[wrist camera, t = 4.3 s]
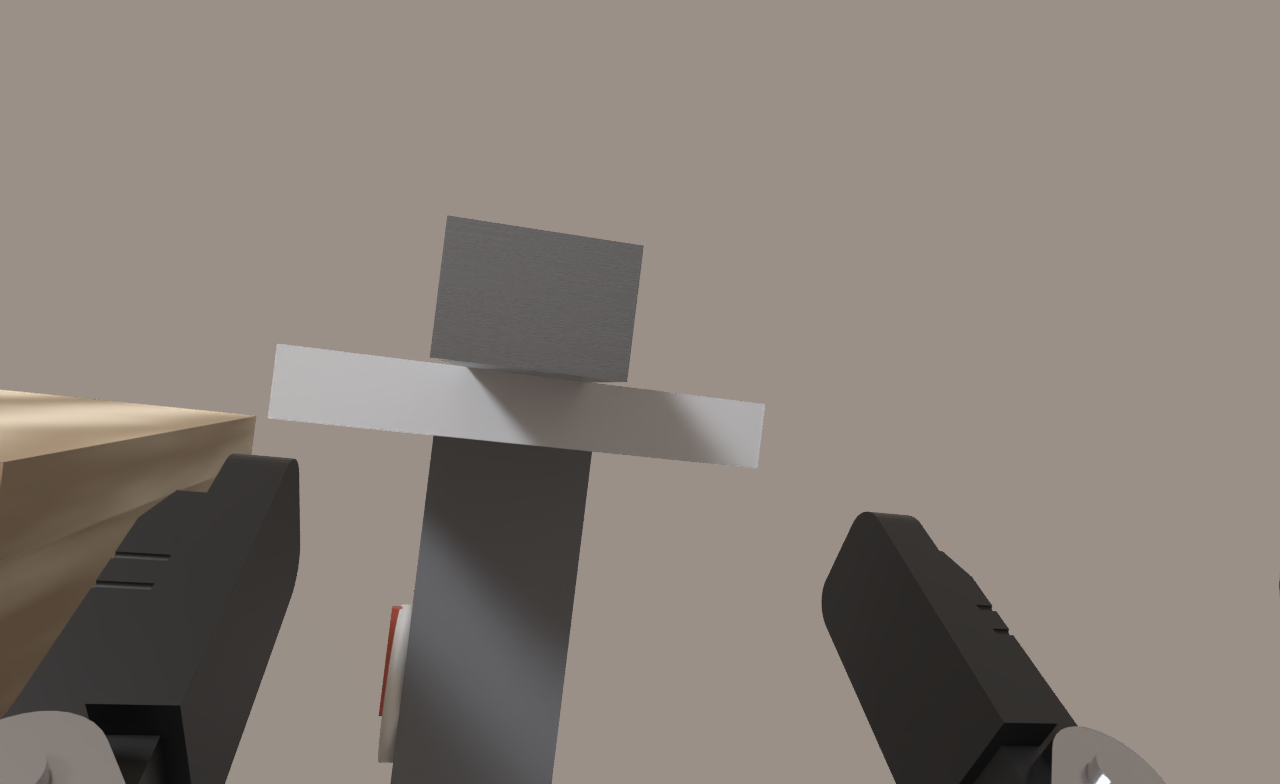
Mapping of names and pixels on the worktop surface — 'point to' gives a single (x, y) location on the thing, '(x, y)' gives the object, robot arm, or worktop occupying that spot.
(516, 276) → the steel bar
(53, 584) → the pine plinth
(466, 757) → the dial scale
